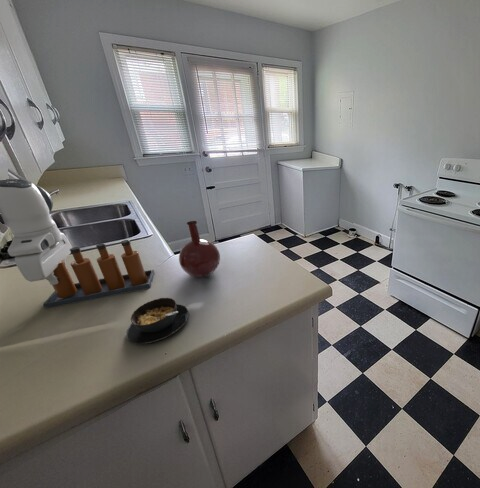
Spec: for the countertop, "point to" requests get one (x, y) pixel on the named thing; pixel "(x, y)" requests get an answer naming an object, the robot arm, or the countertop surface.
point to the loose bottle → (64, 282)
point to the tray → (105, 291)
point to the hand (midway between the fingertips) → (60, 278)
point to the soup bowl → (156, 320)
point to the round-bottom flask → (198, 254)
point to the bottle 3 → (133, 264)
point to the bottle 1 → (85, 273)
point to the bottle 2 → (109, 268)
